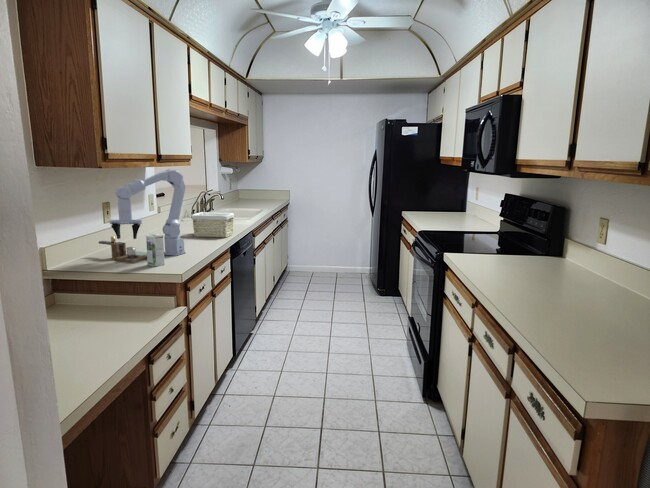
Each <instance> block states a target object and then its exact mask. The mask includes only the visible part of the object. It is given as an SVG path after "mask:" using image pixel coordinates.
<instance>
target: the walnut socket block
mask: <svg viewBox="0 0 650 488" xmlns="http://www.w3.org/2000/svg"><path fill="white" fill-rule="evenodd" d="M118 243H124V245H122V246H119V244H113V243H112V244H111V245H110V246H111V247H110V248H111V249H110V250H111V258H112V260H114V261H116V262H124V263H130V264H134V263H138V262H141V261H145V260H147V255H145V256H142V255H136V258H133V259H129V258H127V255H126V254H127V249H126V248H127V246H126V242H122V241H119V242H118Z"/></svg>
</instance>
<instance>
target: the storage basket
mask: <svg viewBox="0 0 650 488" xmlns="http://www.w3.org/2000/svg"><path fill="white" fill-rule="evenodd" d="M234 217H235V214H234V212H214V211H213V212H212V211H211V212H210V211H208V212H207V211H200V212H196V213H194V214H191V220H192V227H193V234H194V237H195V238H196V237H197V238H228V237H231V236H232V235H233V234H234V233H233V232H234V220H235V219H234Z"/></svg>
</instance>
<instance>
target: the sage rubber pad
mask: <svg viewBox="0 0 650 488" xmlns="http://www.w3.org/2000/svg"><path fill="white" fill-rule="evenodd" d="M126 255H127V253H126ZM136 255H142V256H147V251H139V250H138V251H136Z"/></svg>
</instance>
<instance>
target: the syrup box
mask: <svg viewBox="0 0 650 488" xmlns="http://www.w3.org/2000/svg"><path fill="white" fill-rule="evenodd" d="M145 239H146V252H147V255H146V256H147V259H146V260H147V262H146V263H147V264H146V265H148V266H151V267H160V266H163V265H165V254H164V252H165V241H164V234H163V235H162V234H158V233H151V234H147V235H145Z"/></svg>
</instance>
